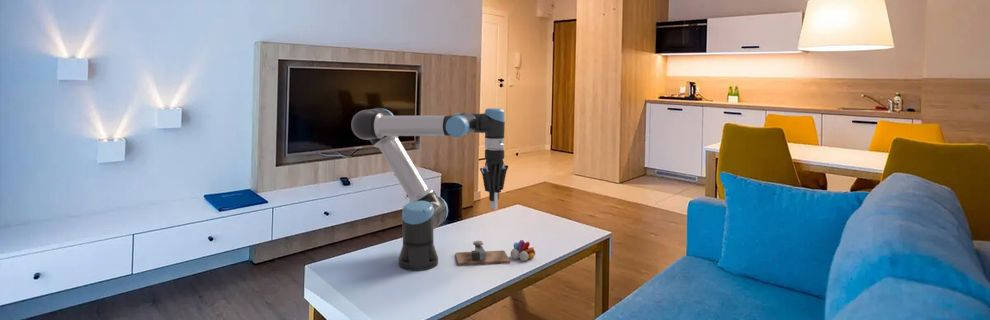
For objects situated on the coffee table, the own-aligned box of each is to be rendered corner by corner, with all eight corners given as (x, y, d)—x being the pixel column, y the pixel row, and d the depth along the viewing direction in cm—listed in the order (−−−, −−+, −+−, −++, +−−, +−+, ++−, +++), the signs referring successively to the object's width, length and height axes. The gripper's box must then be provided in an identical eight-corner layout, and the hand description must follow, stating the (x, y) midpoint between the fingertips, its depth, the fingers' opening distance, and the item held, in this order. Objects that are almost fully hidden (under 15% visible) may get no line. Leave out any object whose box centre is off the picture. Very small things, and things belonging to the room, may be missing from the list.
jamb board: (458, 265, 203) (458, 252, 202) (455, 254, 216) (455, 241, 215) (509, 263, 206) (510, 249, 206) (503, 252, 219) (504, 239, 218)
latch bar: (475, 253, 213) (475, 246, 213) (481, 253, 214) (481, 245, 213) (479, 260, 205) (479, 253, 205) (485, 260, 206) (485, 252, 205)
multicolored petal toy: (528, 263, 207) (528, 245, 206) (506, 258, 212) (507, 241, 211) (538, 257, 214) (538, 240, 213) (517, 253, 219) (517, 235, 218)
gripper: (488, 151, 198) (487, 213, 201) (513, 148, 206) (512, 207, 210) (475, 149, 203) (475, 209, 207) (500, 146, 212) (499, 204, 215)
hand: (493, 208), depth 208 cm, fingers closed
